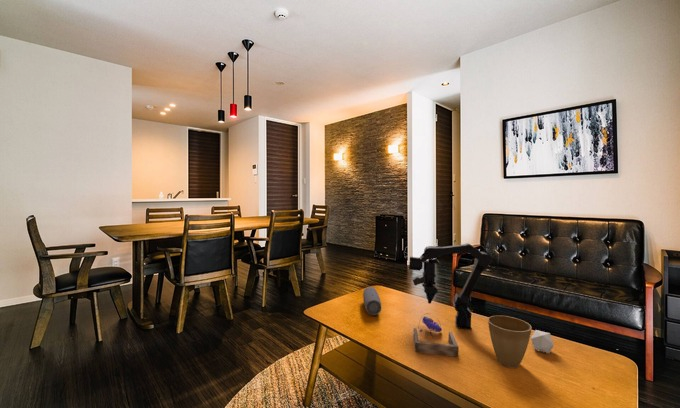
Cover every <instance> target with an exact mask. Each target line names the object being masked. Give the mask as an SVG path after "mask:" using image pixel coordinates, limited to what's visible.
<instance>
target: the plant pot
mask: <svg viewBox="0 0 680 408" xmlns="http://www.w3.org/2000/svg"><path fill="white" fill-rule="evenodd" d="M487 324H488V330H489V331H488V332H489V335H490V339H491V344H492V347H493V351H494V354H495V356H496V359H497V361H498V363H499V364H500V365H502V366H504V367H507V368H511V369H512V368H513V369H514V368H515V369H516V368H519V367H520V365H521V363H522V361H523V359H524V357H525V354H526V351H527V349H528V346H529V342H530V340H531V335H532V334H531V333H532V330H533V329H532V325H531V324H529V322H526V321H525V320H522V319H520V318H516V317H513V316H509V315H492V316H489V317H488V319H487Z"/></svg>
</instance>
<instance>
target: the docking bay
mask: <svg viewBox="0 0 680 408" xmlns="http://www.w3.org/2000/svg"><path fill="white" fill-rule="evenodd" d="M412 331H413V333H412V335H413V336H412V338H413V344H414V353H421V354H428V355H429V354H431V355H439V356H447V357H456V358H459V345H458V342H457V340H456V338H455V335H454V333H453V331H448V343H449V344H448V343H439V342H429V341H422V340H421V341H420V340H419V333H418V327H417V328H413V329H412Z"/></svg>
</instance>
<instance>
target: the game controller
mask: <svg viewBox="0 0 680 408" xmlns="http://www.w3.org/2000/svg"><path fill="white" fill-rule="evenodd" d="M426 314H427V315H428V314H430V313H424V314H423V315H422V316H421V318H420V319H419V323H418V324H420V322H422V323H423V324H424V325H425V326H426V327H427V329H429V334H430V336H431V338H432V339H434V337H433V335H432V333H431V331H433V332H435V333H440V332H442V327H441V325H440V324H441V323H440V321H439V319H437V321H438V322H439V323H438V322H436V321H434V319H433V318H430V317H427V316H426ZM421 320H422V321H421ZM419 327H420V325H418V327H417V331H419V332H423V329H420V330H419Z"/></svg>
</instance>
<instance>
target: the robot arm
mask: <svg viewBox="0 0 680 408" xmlns="http://www.w3.org/2000/svg"><path fill="white" fill-rule="evenodd" d="M466 253H468V254H469V255H471V256H472V257H473V258H474V260H473V261H474V262H473V268H472V270H471V272H470V274H469V275H468V277H467V280H466V282H465V283H464V285H463V288H462V290H461V291H460V292H459V293H458V292H455V294H454V297H453V298H452V304H453V308H454V309H455V311H456V315H455V316H454V317H455V319H454V320H455V321H454V323H455V325H456V328H458V329H462V330H463V329H464V330H472V329H473V328H472V316H473V315H472V311H471V310H470V308H469V304H470V297H471V295H472V293H473V291H474V289H475V287H476V285H477V283H478V282H479V279H480V277H481V275H482V273H483V272H484V271H485V270H487V268H488V267H489V266H490V264H491V263H492V257H491V256H490V255H489V254H488V253H486V252H485V251H480V250H478V249H477V248H476V247H474V246H473V245H471V244H470V243H464V244H456V245H447V246H436V245H435V246H434V245H433V246H432V245H427V246H426V247H425V248H424V250H423V253H422V254H421V255H420V257H417V256H416V257H415V256H410V257H409V262H408V268H409V269H408V270H409V271H421V270H423V272H422V274H420V275H419V274H418V275H415V276H413V277H412V278H411V279H412V283H413V285H414V286H418V285H422V287H423V292H424V293H425V294H426V299H427V304H431V303H432V302H433V299H434V298H435V296H436V294H438V293H439V289H438V287H437V286H436V277H437V275H436V264H440V261H439V260H438V259H437V258H440V257H442V256H450V255H456V254H457V255H458V254H466Z"/></svg>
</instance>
